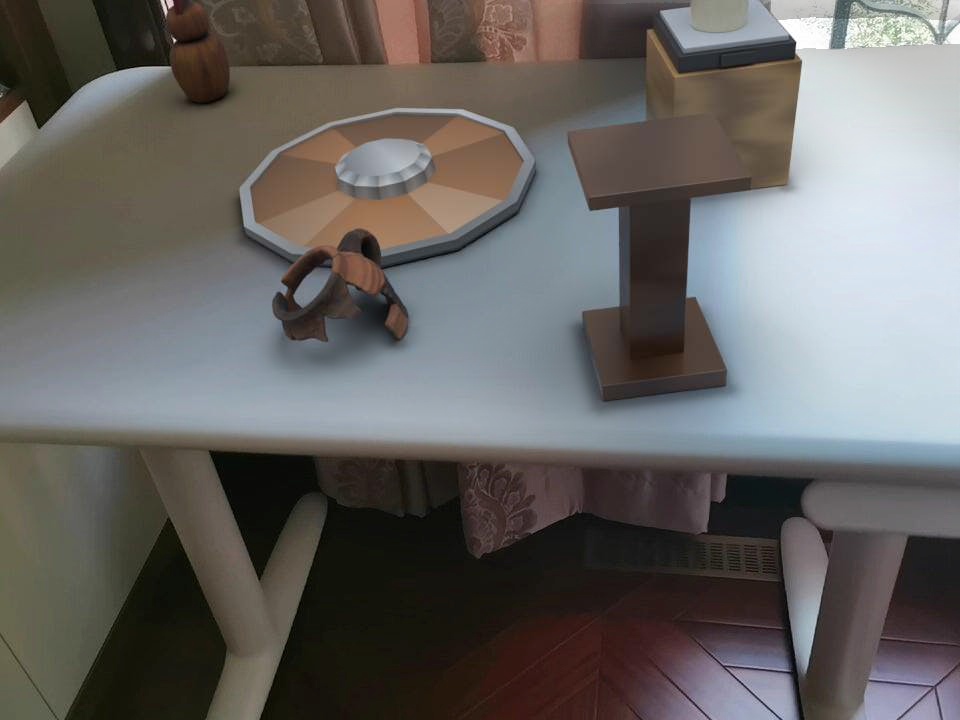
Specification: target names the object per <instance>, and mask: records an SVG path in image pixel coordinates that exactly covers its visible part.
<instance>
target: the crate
mask: <svg viewBox="0 0 960 720" xmlns="http://www.w3.org/2000/svg"><path fill="white" fill-rule="evenodd" d="M802 65H803V60H802V58H801V57H800V56H799V55H798V53H796V52H795V59H788V60H781V61H773V62H765V63H757V64H750V65H742V66H734V67H727V68H719V69H711V70H703V71H696V72H688V73H680V74H679V73H678V71H677V70H676V68H675V66H674V65H673V63H672V61H671V60H670V58H669V56H668V54H667V53H666V51H665V49H664V48H663V46H662V44H661V43H660V41H659V39H658V37H657V36H656V34H655V32H654V31H653V28H649V29H647V30H646V71H645V72H646V74H645V75H646V76H645V77H646V78H645V79H646V80H645V81H646V82H645V83H646V84H645V94H646V95H645V121H650V120H658V119H666V118H673V117H681V116H689V115H697V114H704V113H713V114H714V115H715V117H716V119H717V120H718V122H719V124H720V125H721V127H722V128H723V130H724V132H725V133H726V135H727V137H728V138H729V140H730V142H731V143H732V145H733V147H734V148H735V150H736V152H737V153H738V155H739V156H740V158H741V160H742V161H743V163H744V165H745V166H746V168H747V170H748V171H749V173H750V175H751V176H752V180H751V190H753V189H754V190H755V189H763V188H770V187H779V186H785V185H788V183H789V177H790V176H789V175H790V167H791V159H792V150H793V141H794V133H795V125H796V117H797V108H798V100H799V93H800V92H799V90H800V83H801V75H802V67H803V66H802Z"/></svg>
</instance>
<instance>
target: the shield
mask: <svg viewBox="0 0 960 720" xmlns="http://www.w3.org/2000/svg"><path fill="white" fill-rule="evenodd" d="M536 173H537V162H536V159H535V158H534V156H533V154H532V153H531V151H530V150H529V148H528V147H527V145H526V144H525V142H524V141H523V139H522V138H521V136H520V135H519V133H518V132H517V130H516V128H515V127H514V126H511V125H508V124H506V123H502V122H499V121H498V120H497V121H496V120H494V119H491V118H487V117H485V116H482V115H480V114H477V113H474V112H471V111H468V110H466V109H462V108H419V107H417V108H415V107H412V108H411V107H410V108H409V107H408V108H407V107H395V108H391V109H387V110H381V111H380V110H379V111H377V112H371V113H367V114H362V115H356V116H353V117H349V118H344V119H339V120H334V121H330V122H327V123H324V124H322V125H320V126H319V127H317V128H315V129H312V130H311V131H309V132H307V133H305V134H302V135H301V136H298V137H296V138H295V139H292V140H290V141H288V142H287V143H284V144H283V145H280V146H278V147H277V148H275V149H272V150H271V151H269V153H268V154H267V155H266V157H264V159H263V160H262V161H261V162H260V163H259V165H258V166H257V167H256V168H255V169H254V171H252V173H251V174H250V175H249V176H248V178H246V179H245V181H244V182H243V183H242V184H241V186H240V187H239V188H238V189H239V191H238V192H239V197H240V198H239V199H240V205H241V212H242V221H243V227H244V231H245V234H246V237H247V238H249V239H250V240H252V241H254V242H256V243H257V244H259V245H261V246H262V247H264V248H266V249H268V250H269V251H271V252H273V253H274V254H276V255H277V256H280V257H281V258H283V259H285V260H286V261H288V262H290V263H292V265H293V264H294V263H295V261H296V260H298V259H299V258H300V257H301V256H302V255H304V254H305V253H306V252H308V251H309V250H311V249H314V248H315V247H318V246H323V245H331V246H334V247H335V248H336V249H337V247H338V245H339V244H340V242H341V240H342V238H343V237H344V236H345V234H347V233H348V232H350V231H353V230H355V229H357V228H361V229H365V230H367V231H369V232H370V233H371V234H373V235H374V236H375V237H376V239H377V241H378V243H379V246H380V251H381V269H383V268H388V267H392V266H396V265H400V264H405V263H408V262H413V261H417V260H421V259H425V258H430V257H434V256H439V255H443V254H447V253H451V252H454V251H458V250H461V249H462V248H464V247H465V246H467V245H469V244H470V243H472V242H473V241H475V240H477V239H478V238H479V237H481V236H482V235H484V234H486V233H488V232H489V231H490V230H492V229H493V228H496V227H497V226H498V225H500V224H502V223H503V222H505V221H506V220H508V219H509V218H511V217H512V216H514V215H516V214H517V213H518V212H519V210H520V208H521V207H522V204H523V203H524V199H525V197H526V195H527V193H528V190H529V188H530V186H531V183H532V181H533V179H534V176H535V174H536ZM318 267H328V268H332V260H331V259H329V260H325V262H324V263H323V264H321V265H319V266H318Z"/></svg>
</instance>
